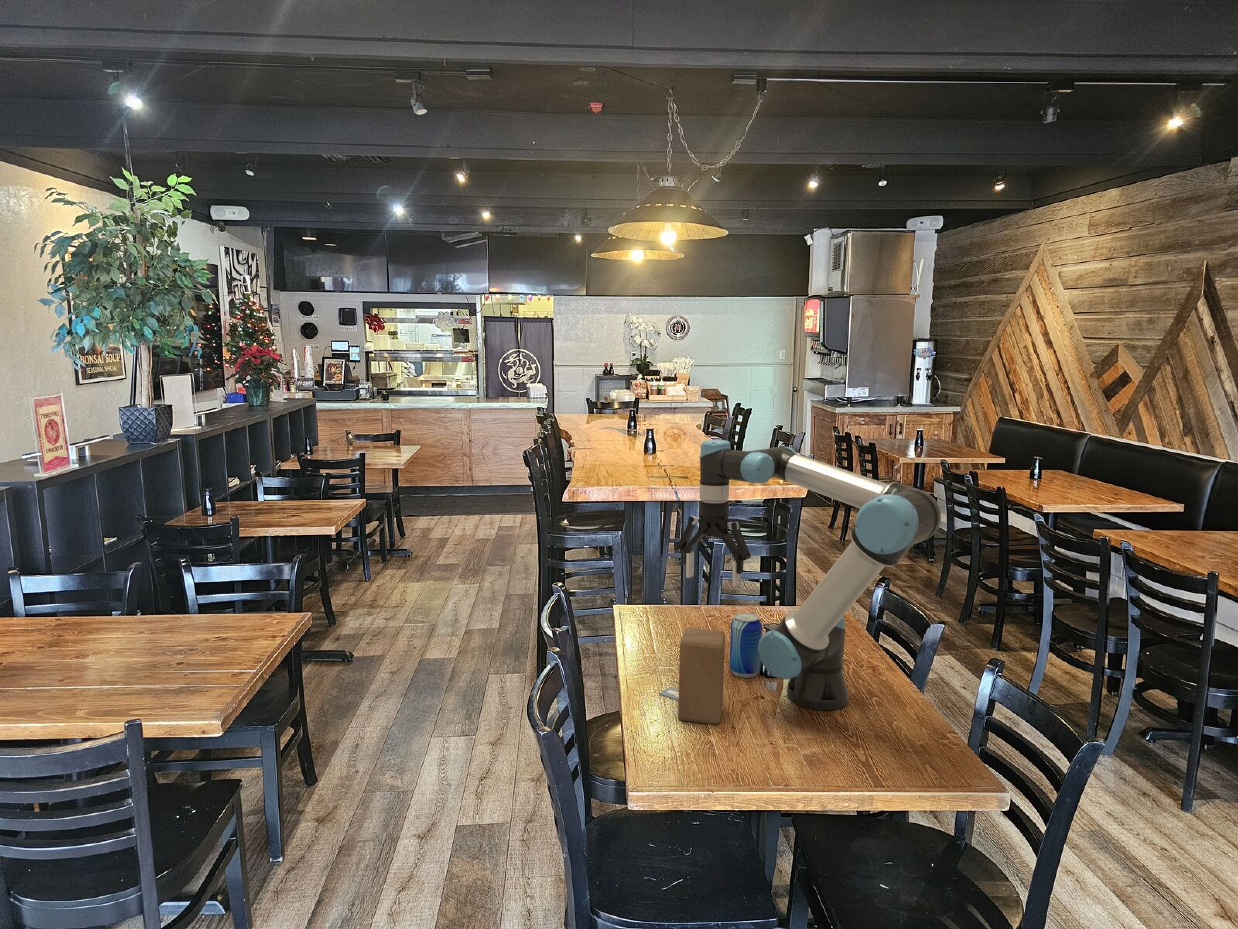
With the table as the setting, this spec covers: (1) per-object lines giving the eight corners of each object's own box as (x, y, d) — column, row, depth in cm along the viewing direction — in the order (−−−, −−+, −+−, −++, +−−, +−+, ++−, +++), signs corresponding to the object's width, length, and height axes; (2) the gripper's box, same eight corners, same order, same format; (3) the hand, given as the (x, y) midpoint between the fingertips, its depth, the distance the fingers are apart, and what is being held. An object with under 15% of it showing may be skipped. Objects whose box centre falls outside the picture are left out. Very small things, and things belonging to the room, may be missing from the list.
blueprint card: (696, 696, 197) (696, 695, 197) (685, 703, 193) (685, 701, 193) (670, 688, 202) (670, 686, 202) (659, 694, 198) (659, 692, 198)
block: (719, 726, 181) (722, 644, 179) (677, 721, 183) (679, 640, 181) (722, 707, 191) (725, 629, 188) (682, 703, 193) (684, 626, 190)
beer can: (742, 664, 218) (744, 609, 216) (766, 673, 212) (768, 617, 210) (722, 672, 213) (724, 616, 210) (747, 681, 206) (749, 624, 204)
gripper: (765, 503, 194) (762, 585, 197) (679, 493, 209) (678, 570, 211) (752, 508, 188) (749, 592, 191) (665, 497, 202) (664, 576, 205)
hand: (712, 581), depth 201 cm, fingers open, 13 cm apart
